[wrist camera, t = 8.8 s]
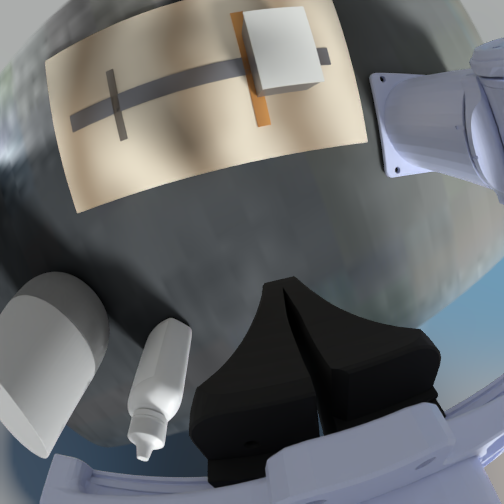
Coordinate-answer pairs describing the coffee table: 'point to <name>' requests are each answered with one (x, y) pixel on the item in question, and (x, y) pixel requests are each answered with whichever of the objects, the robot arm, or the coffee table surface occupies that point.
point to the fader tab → (281, 50)
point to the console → (189, 99)
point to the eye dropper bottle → (158, 385)
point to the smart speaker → (48, 356)
